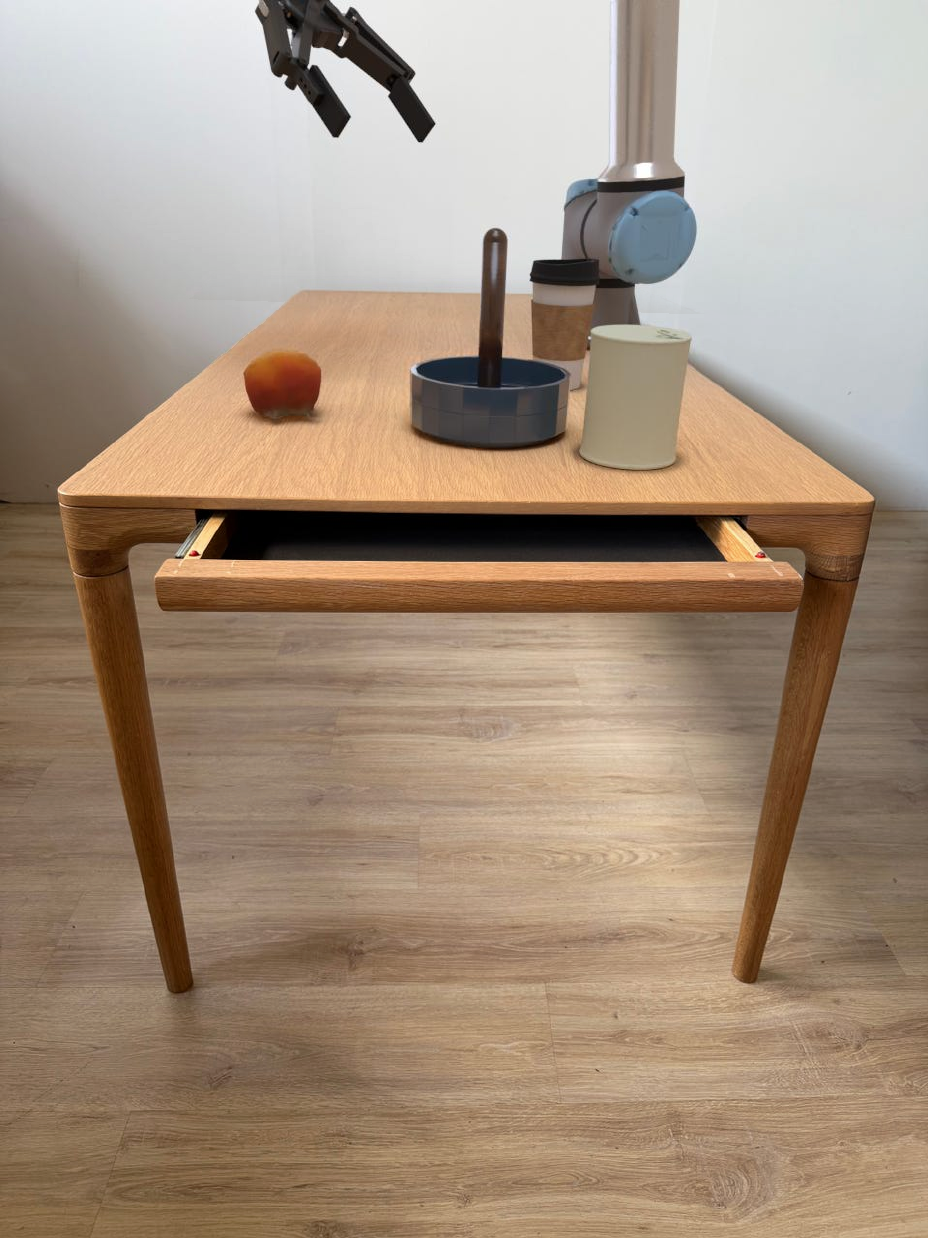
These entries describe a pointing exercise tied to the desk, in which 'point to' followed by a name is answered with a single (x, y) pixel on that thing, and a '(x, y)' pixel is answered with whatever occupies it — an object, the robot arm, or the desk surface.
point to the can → (634, 396)
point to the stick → (492, 308)
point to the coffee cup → (563, 312)
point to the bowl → (489, 402)
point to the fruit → (283, 383)
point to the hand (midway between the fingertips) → (386, 130)
